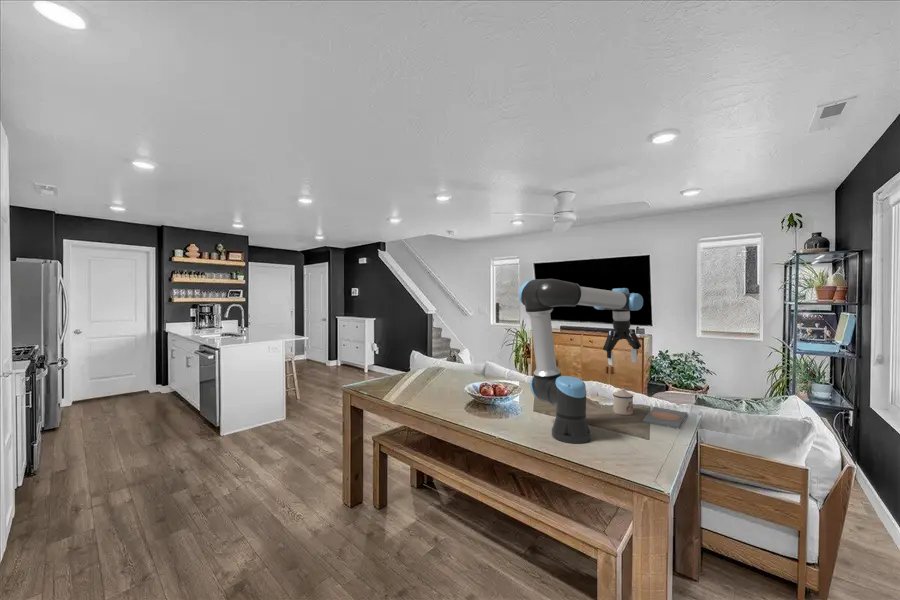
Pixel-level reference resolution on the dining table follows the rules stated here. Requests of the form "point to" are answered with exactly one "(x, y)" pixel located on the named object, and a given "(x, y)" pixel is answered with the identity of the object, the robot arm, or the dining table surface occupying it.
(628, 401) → the teacup with lid
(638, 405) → the dining table surface
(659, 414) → the slate tray
